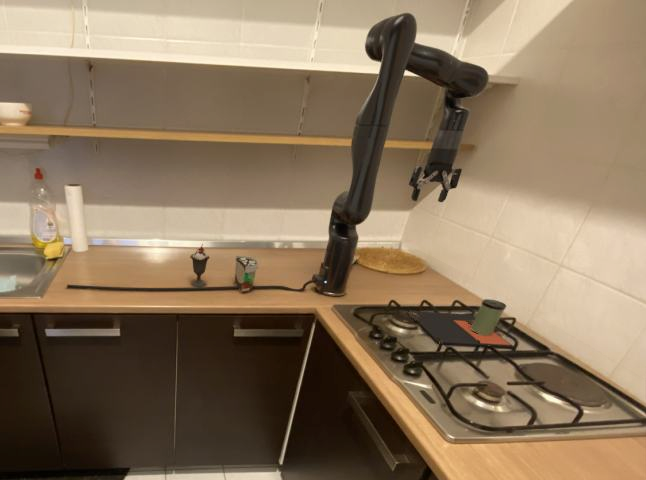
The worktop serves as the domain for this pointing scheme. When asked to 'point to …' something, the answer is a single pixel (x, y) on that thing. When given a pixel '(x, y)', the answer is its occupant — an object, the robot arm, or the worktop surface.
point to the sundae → (199, 265)
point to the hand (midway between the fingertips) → (427, 201)
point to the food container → (245, 273)
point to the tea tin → (488, 317)
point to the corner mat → (457, 330)
